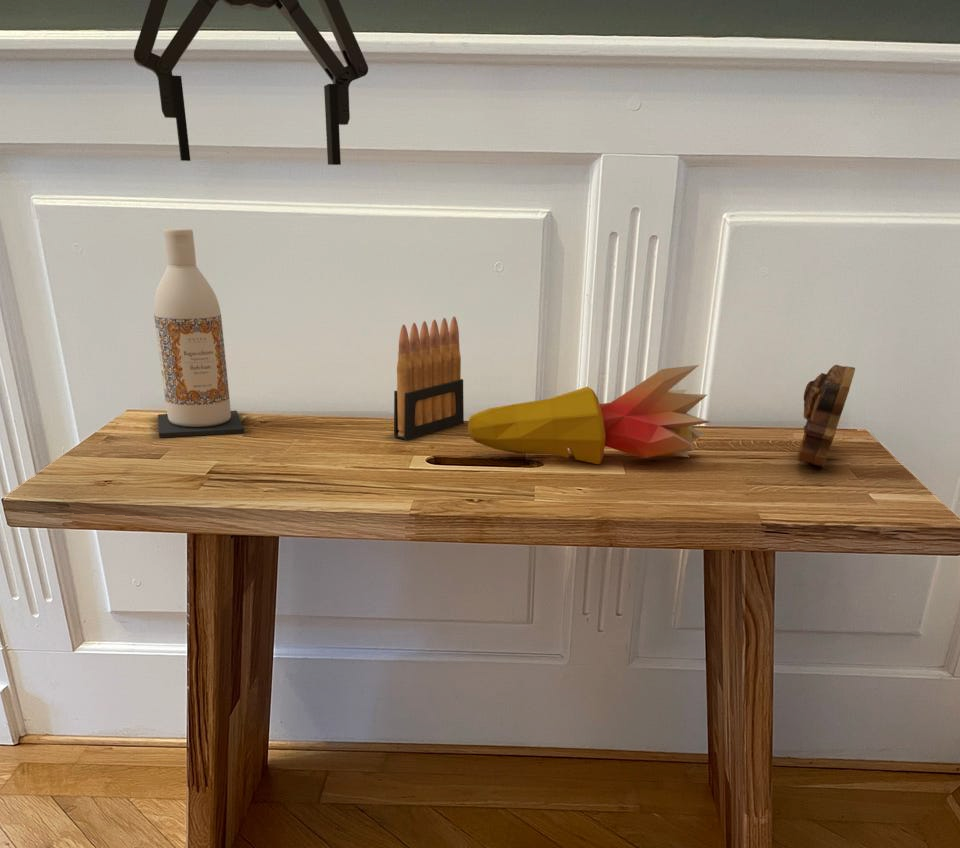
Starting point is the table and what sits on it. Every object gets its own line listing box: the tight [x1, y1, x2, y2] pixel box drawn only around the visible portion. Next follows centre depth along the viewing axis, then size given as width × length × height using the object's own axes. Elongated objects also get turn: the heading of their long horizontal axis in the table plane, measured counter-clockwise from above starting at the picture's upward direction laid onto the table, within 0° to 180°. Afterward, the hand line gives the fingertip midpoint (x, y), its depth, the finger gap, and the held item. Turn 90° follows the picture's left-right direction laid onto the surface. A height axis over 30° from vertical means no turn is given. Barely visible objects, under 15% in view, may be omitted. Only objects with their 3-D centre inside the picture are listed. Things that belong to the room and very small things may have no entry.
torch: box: [467, 364, 710, 465], centre depth 93 cm, size 8×8×25 cm
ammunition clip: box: [393, 316, 465, 441], centre depth 101 cm, size 11×2×12 cm, turn 144°
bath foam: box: [153, 227, 232, 427], centre depth 99 cm, size 7×7×20 cm
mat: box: [157, 410, 245, 439], centre depth 104 cm, size 9×9×1 cm
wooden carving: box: [797, 364, 856, 468], centre depth 93 cm, size 16×5×10 cm, turn 162°
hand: (261, 163), depth 85 cm, fingers open, 13 cm apart
